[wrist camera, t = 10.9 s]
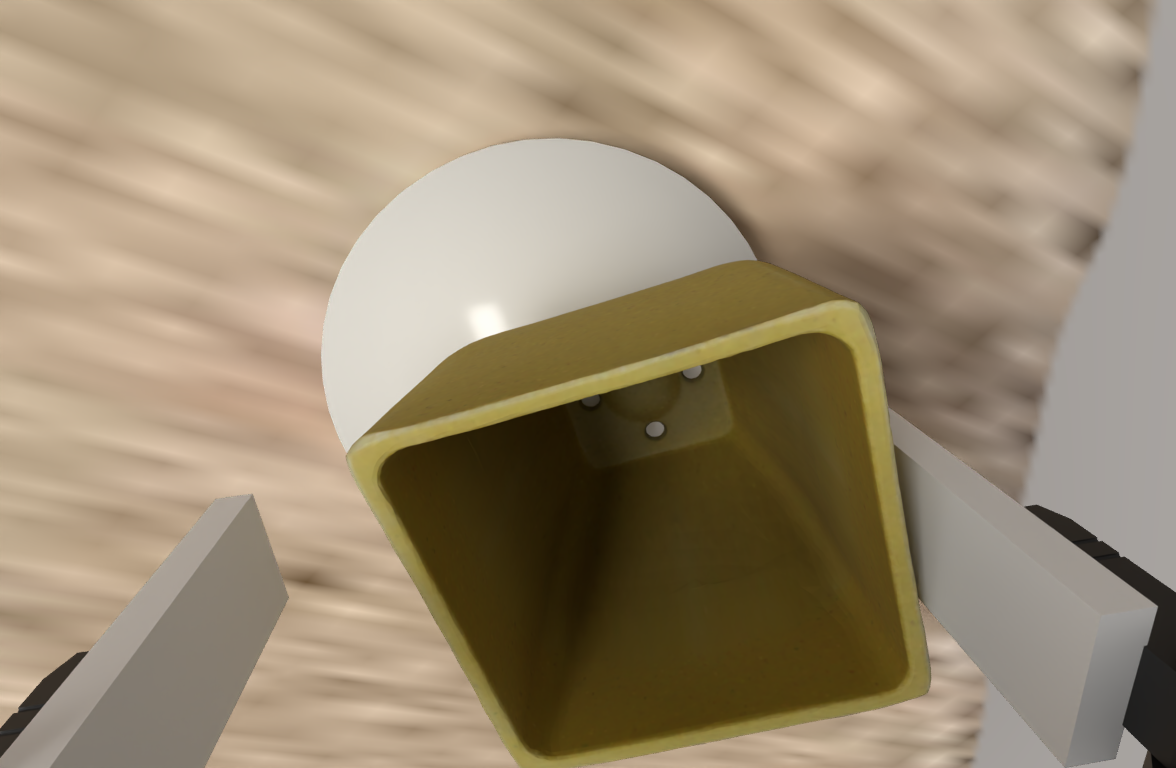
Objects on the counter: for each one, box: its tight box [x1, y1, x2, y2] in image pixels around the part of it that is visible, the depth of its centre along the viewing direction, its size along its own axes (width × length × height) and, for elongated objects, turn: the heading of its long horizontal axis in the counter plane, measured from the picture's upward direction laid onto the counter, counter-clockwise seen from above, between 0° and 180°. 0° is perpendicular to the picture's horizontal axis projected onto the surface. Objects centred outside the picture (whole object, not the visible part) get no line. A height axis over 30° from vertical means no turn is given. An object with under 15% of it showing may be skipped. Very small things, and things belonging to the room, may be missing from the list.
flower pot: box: [346, 260, 931, 768], centre depth 16 cm, size 9×9×9 cm
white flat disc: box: [321, 138, 757, 453], centre depth 20 cm, size 14×14×1 cm
